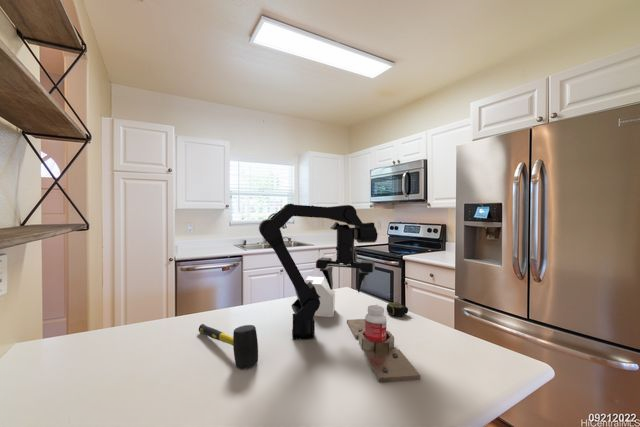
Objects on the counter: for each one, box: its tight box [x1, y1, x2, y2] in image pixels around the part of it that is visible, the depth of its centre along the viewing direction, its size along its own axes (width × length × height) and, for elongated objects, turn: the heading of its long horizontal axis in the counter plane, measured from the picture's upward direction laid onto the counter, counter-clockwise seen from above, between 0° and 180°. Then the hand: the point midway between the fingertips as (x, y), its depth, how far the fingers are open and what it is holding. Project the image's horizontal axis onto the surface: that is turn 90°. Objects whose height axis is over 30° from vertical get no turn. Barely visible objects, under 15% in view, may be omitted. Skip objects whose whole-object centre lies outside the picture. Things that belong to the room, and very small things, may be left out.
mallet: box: [198, 323, 259, 370], centre depth 77 cm, size 29×6×10 cm, turn 47°
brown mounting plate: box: [346, 318, 421, 383], centre depth 80 cm, size 34×10×3 cm, turn 7°
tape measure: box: [386, 301, 409, 317], centre depth 104 cm, size 7×7×4 cm
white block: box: [305, 276, 336, 318], centre depth 107 cm, size 11×11×12 cm
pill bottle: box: [364, 304, 387, 341], centre depth 80 cm, size 6×6×11 cm
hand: (345, 290), depth 90 cm, fingers open, 9 cm apart
